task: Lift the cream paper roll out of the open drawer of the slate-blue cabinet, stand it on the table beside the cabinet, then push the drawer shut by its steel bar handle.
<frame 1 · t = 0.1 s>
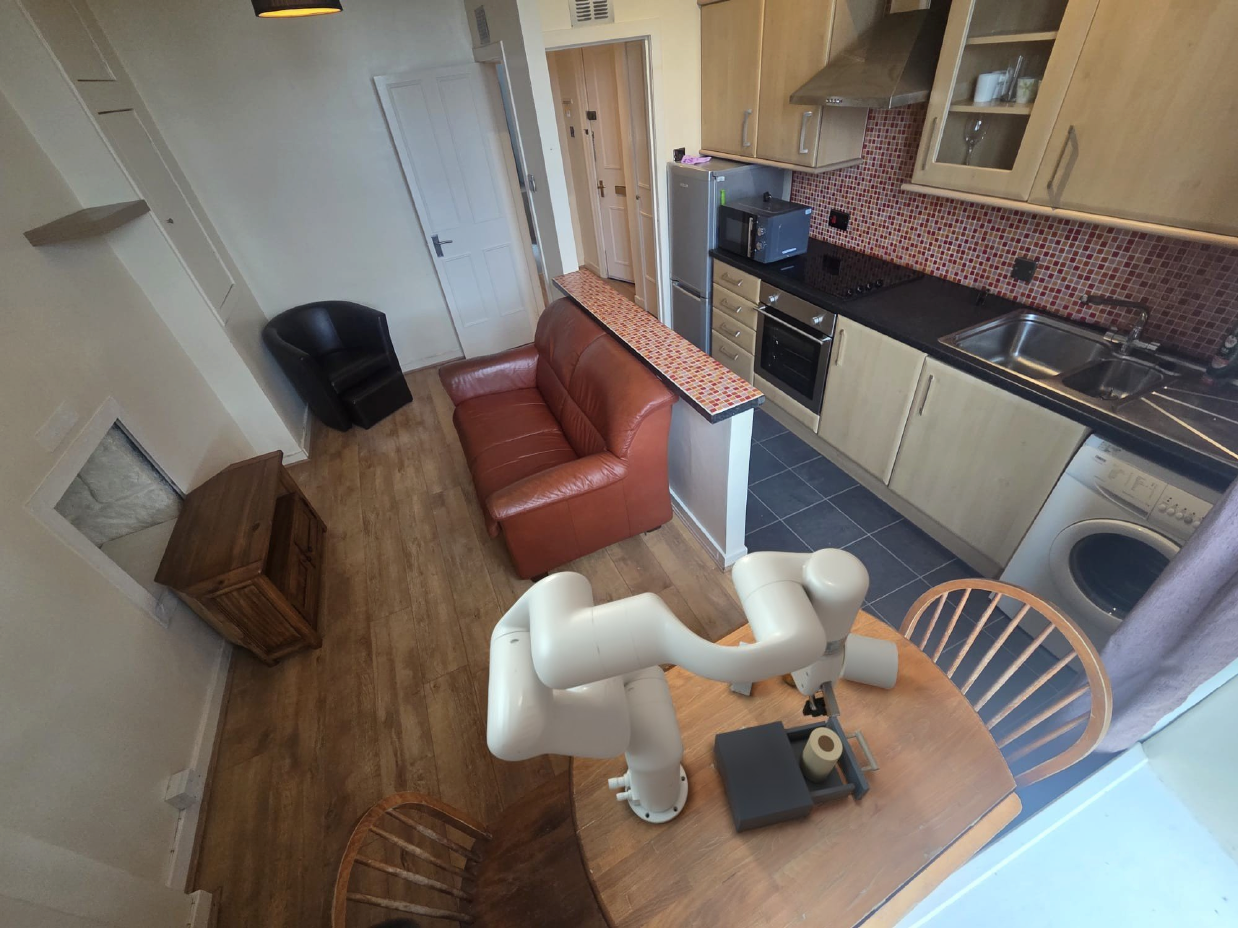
hand: (798, 680, 80), 37 cm above the table, tool pointing down, fingers open, 9 cm apart
toilet paper: (860, 670, 116), on the table
cabinet: (757, 781, 102), on the table
pastry: (800, 669, 118), on the table
cosmetic box: (742, 681, 117), on the table
drawer: (828, 759, 100), point 4 cm above the table, slide at 10.0 cm, touching paper roll
paper roll: (813, 766, 101), point 2 cm above the table, touching drawer
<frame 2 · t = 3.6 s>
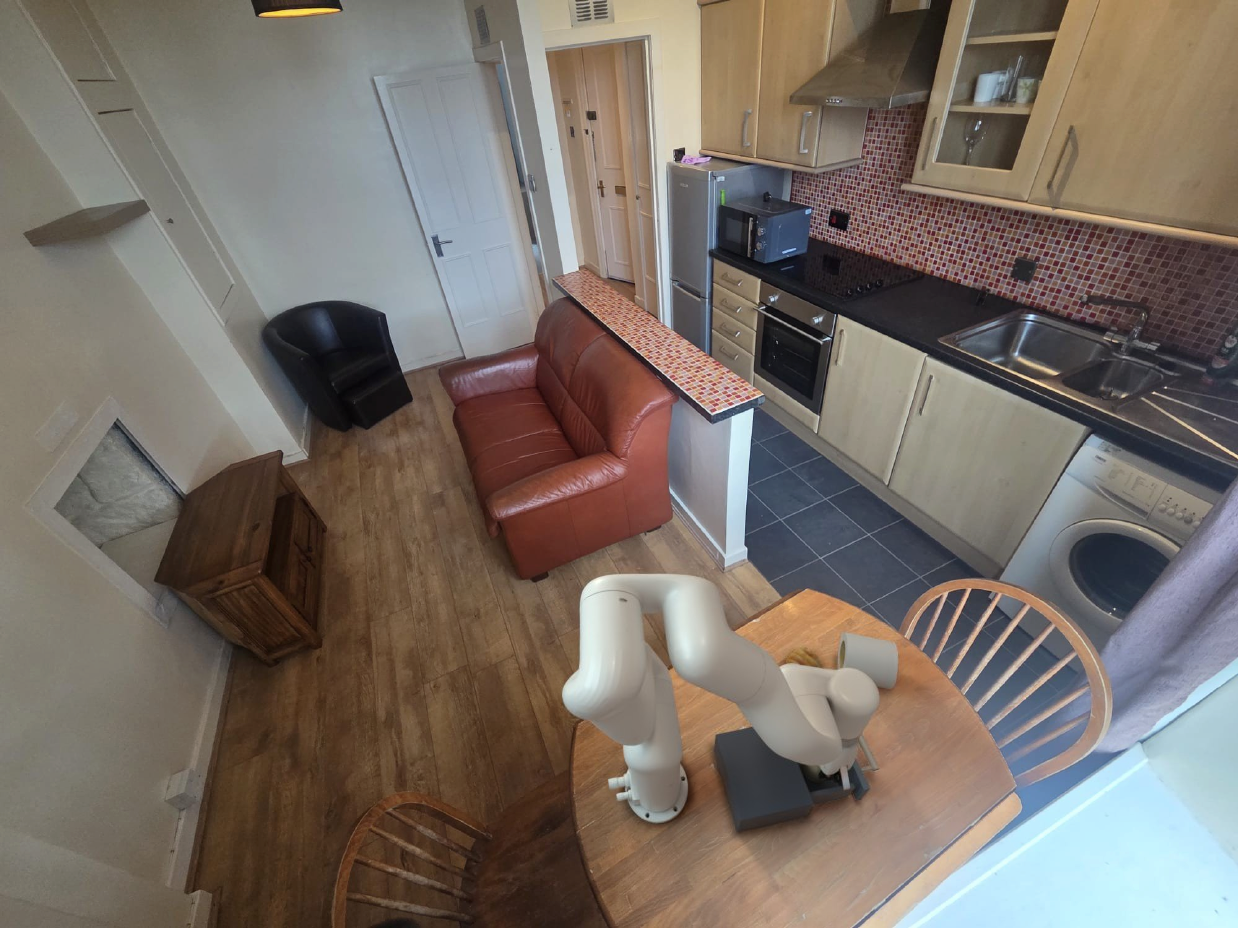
hand: (819, 756, 97), 7 cm above the table, tool pointing down, fingers closed on paper roll, 5 cm apart
paper roll: (813, 766, 101), point 2 cm above the table, touching drawer, gripper
everything else where it was.
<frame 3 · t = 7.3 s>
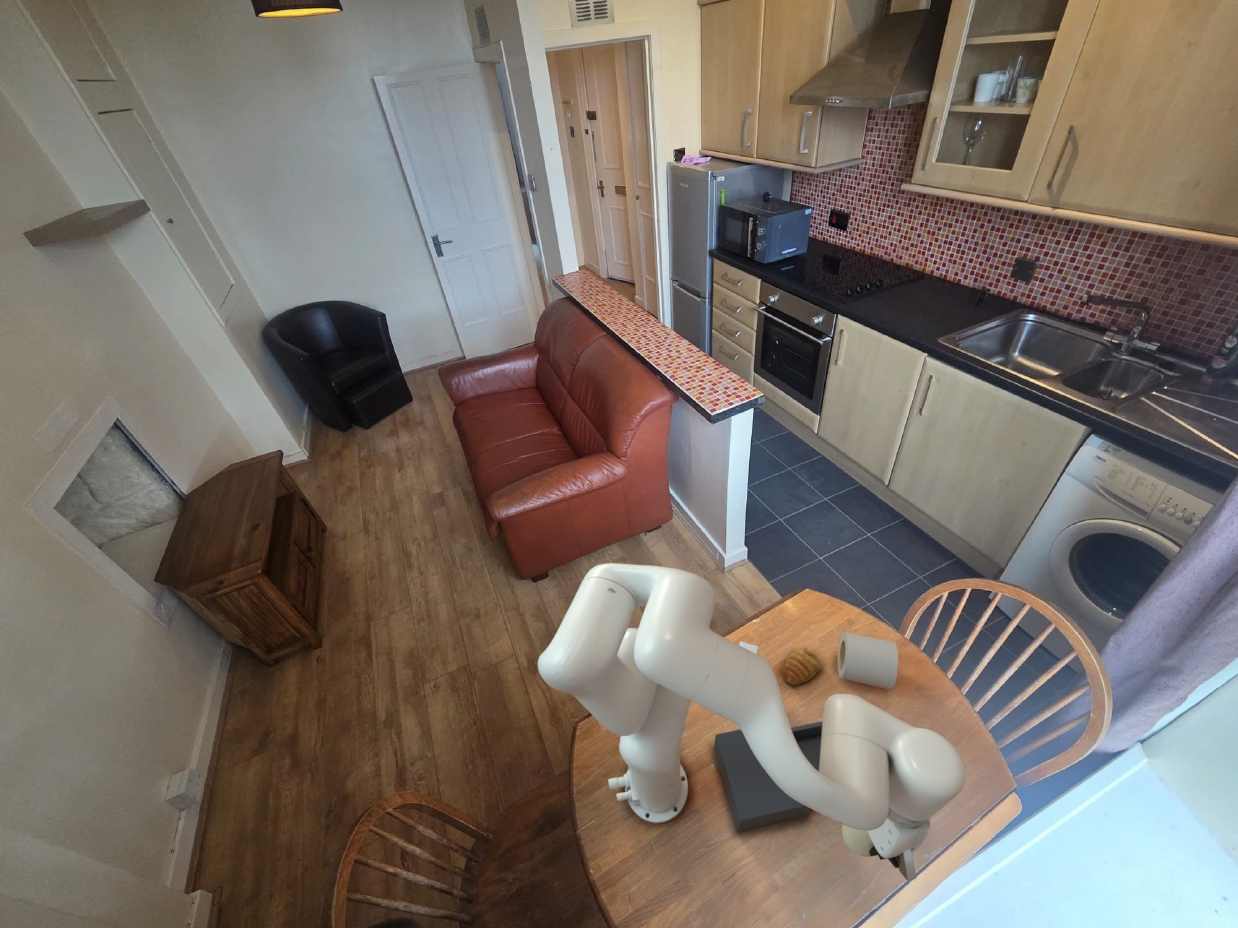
hand: (868, 826, 78), 21 cm above the table, tool pointing down, fingers closed on paper roll, 5 cm apart
drawer: (828, 759, 100), point 4 cm above the table, slide at 10.0 cm
paper roll: (860, 835, 82), point 15 cm above the table, touching gripper
everything else where it was.
when the fingers open (5 cm above the table, at t = 11.1 s): paper roll stays where it is, on the table.
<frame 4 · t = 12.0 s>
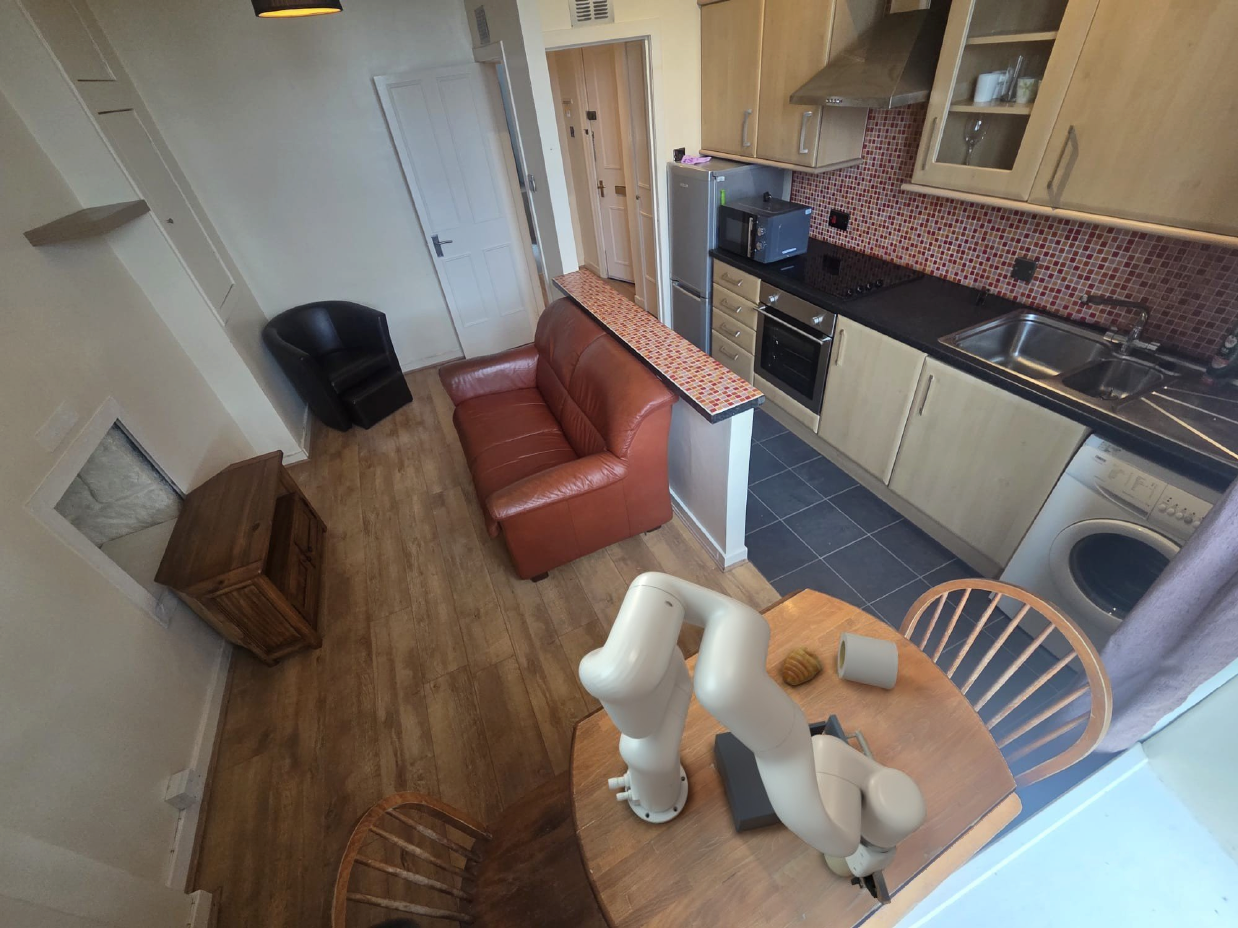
hand: (845, 845, 87), 8 cm above the table, tool pointing down, fingers open, 9 cm apart
paper roll: (840, 856, 92), on the table
everything else where it was.
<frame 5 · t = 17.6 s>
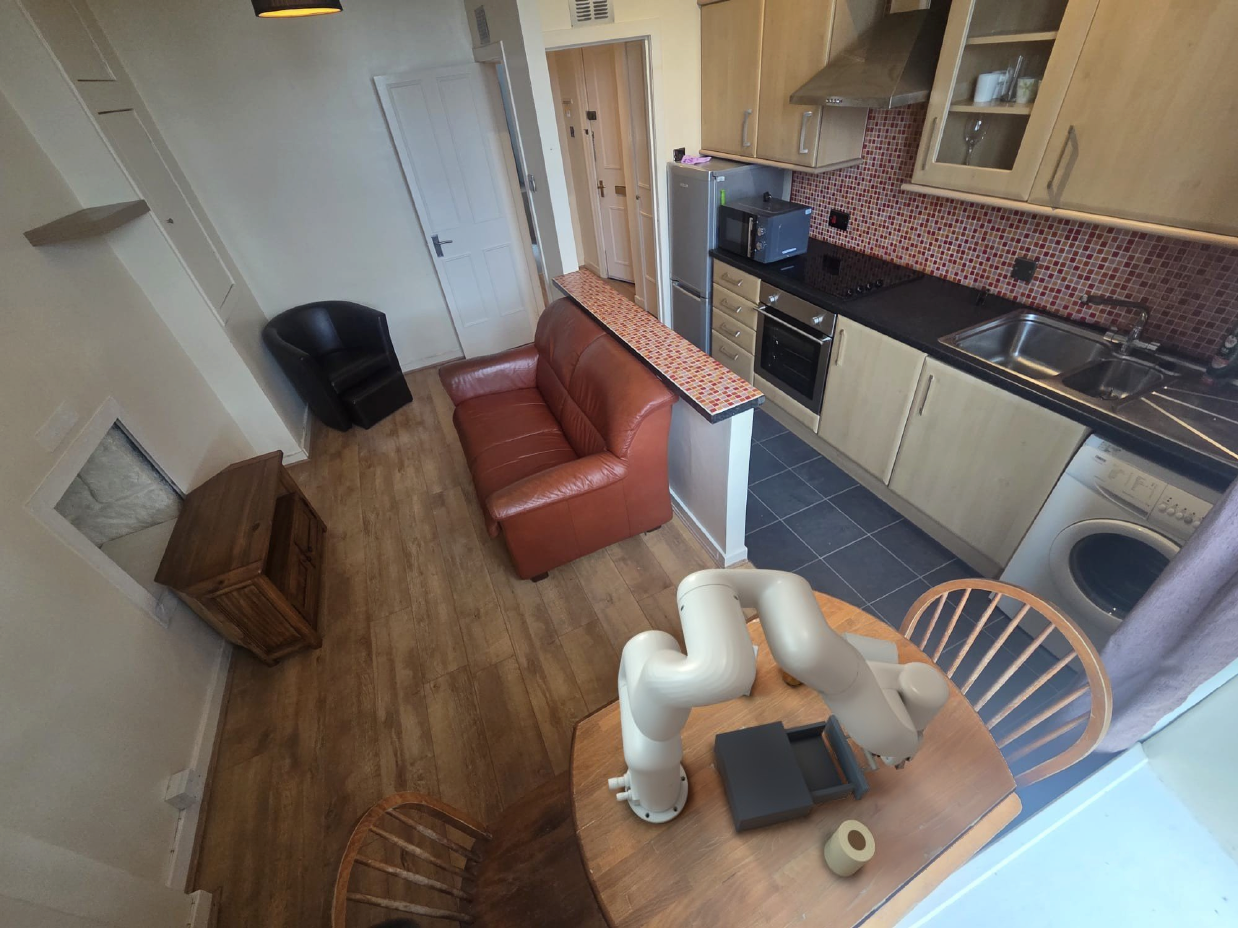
hand: (875, 750, 101), 4 cm above the table, tool pointing down, fingers closed
drawer: (828, 759, 100), point 4 cm above the table, slide at 10.0 cm, touching gripper
everything else where it was.
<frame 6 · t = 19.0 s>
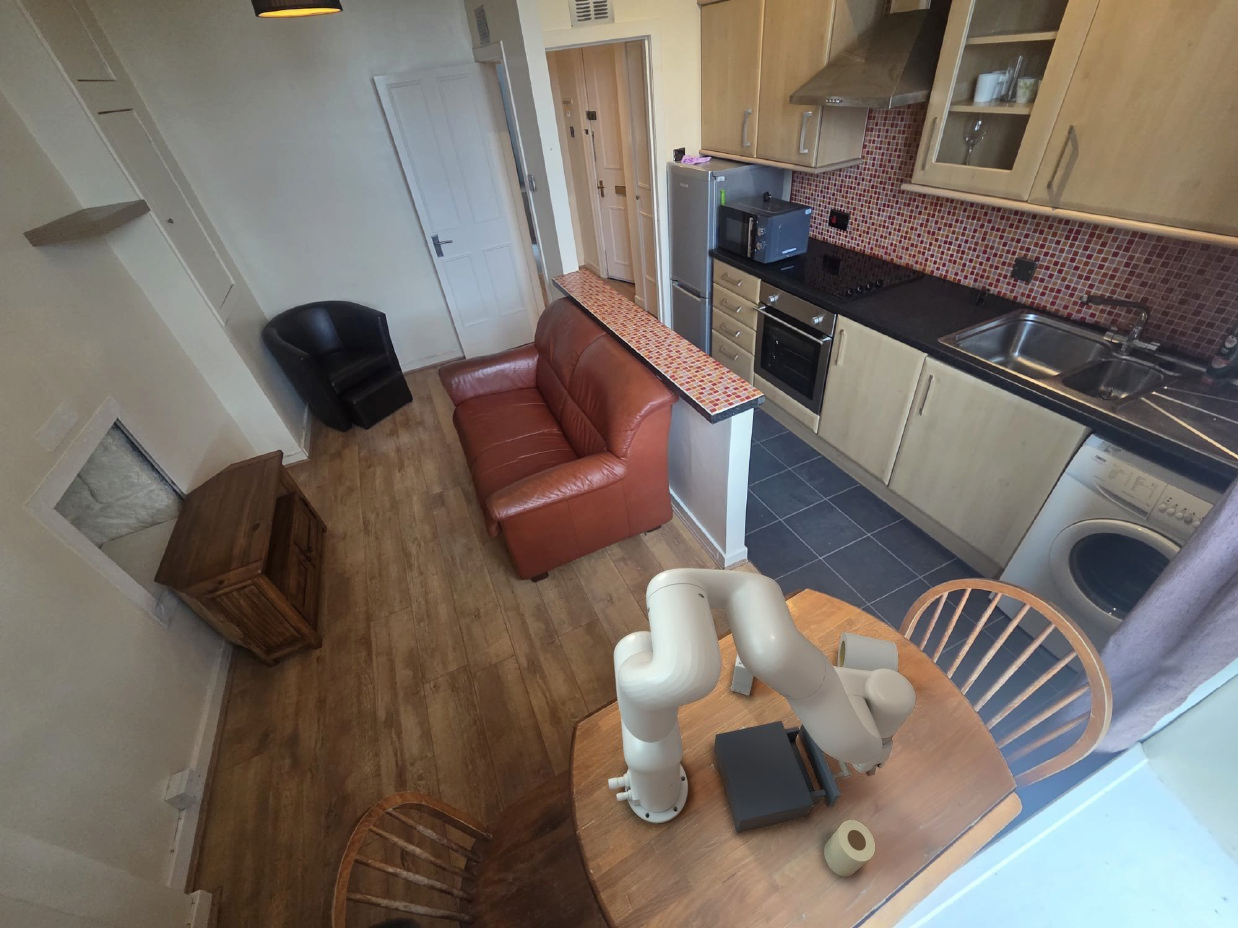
hand: (848, 756, 100), 4 cm above the table, tool pointing down, fingers closed
drawer: (800, 765, 99), point 4 cm above the table, slide at 4.4 cm, touching gripper
everything else where it was.
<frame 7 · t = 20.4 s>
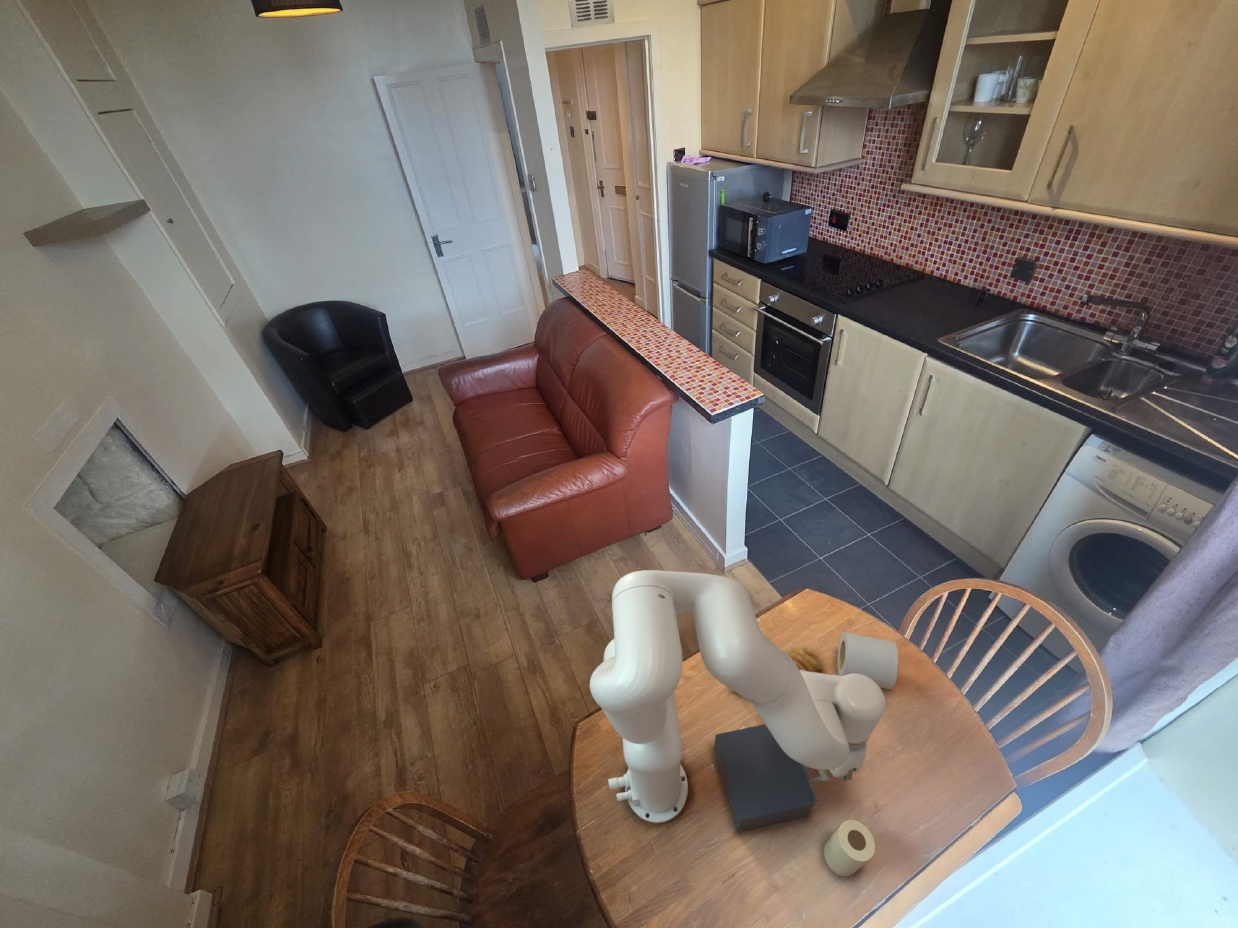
hand: (828, 760, 100), 4 cm above the table, tool pointing down, fingers closed
drawer: (779, 770, 99), point 4 cm above the table, slide at 0.0 cm, touching cabinet, gripper
everything else where it was.
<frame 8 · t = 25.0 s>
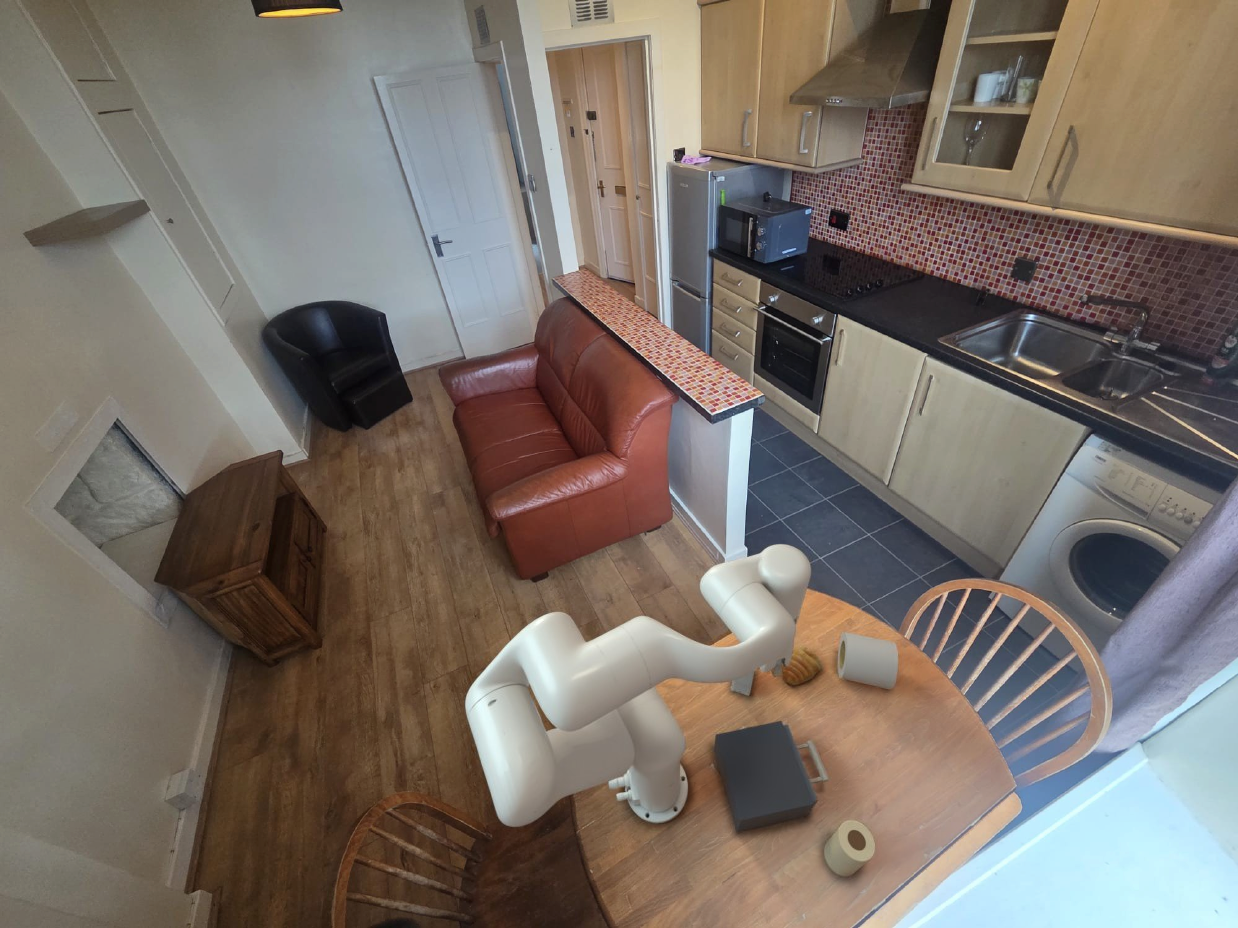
hand: (761, 663, 92), 27 cm above the table, tool pointing down, fingers closed
drawer: (779, 770, 99), point 4 cm above the table, slide at 0.0 cm
everything else where it was.
at the end: paper roll inside the target area (0.2 cm from its centre), on the table; paper roll tilted 0°; drawer slide at 0.0 cm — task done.
